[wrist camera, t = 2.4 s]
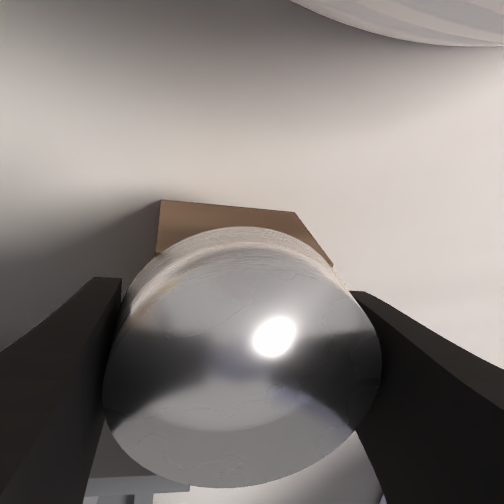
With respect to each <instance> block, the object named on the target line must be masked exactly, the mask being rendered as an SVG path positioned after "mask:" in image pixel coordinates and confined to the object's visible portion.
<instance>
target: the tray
mask: <svg viewBox="0 0 504 504" xmlns="http://www.w3.org/2000/svg"><path fill="white" fill-rule="evenodd" d="M189 490H190V485H187V484H182V483H179V482H176V481H172V480H169V479H167V478H164V477H162V476H159V475H157V474H155V473H153V472H151V471H150V470H148V469H146V468H144V467H143V466H141V465H140V464H139V463H137V462H136V461H135V460H133V459H132V458H131V457H130V456H129V455H128V454H127V453H126V452H125V451H124V450H123V449H122V448H121V447H120V445H119V444H118V442H117V441H116V439H115V438H114V437H113V435H112V433H111V431H110V428H109V426H108V424H107V421H106V418H105V421H104V425H103V428H102V432H101V436H100V439H99V443H98V446H97V450H96V454H95V457H94V461H93V464H92V468H91V471H90V475H89V479H88V483H87V487H86V492H85V496H84V500H83V504H152V503H153V493H169V492H188V491H189Z"/></svg>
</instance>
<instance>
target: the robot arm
mask: <svg viewBox="0 0 504 504" xmlns="http://www.w3.org/2000/svg"><path fill="white" fill-rule="evenodd" d="M121 285H122V278H103V277H94V278H93V279H91V280H90V281H89V282H88V283H87V284H85V285H84V286H83V287H82V288H81V289H80V290H79V291H78V292H77V293H75V294H74V295H73V296H72V297H71V298H70V299H69V300H68V301H66V302H65V303H64V304H63V305H62V306H61V307H60V308H58V309H57V310H56V311H55V312H54V313H52V314H51V315H50V316H49V317H48V318H46V319H45V320H44V321H43V322H41V323H40V324H39V325H38V326H36V327H35V328H34V329H32V330H31V331H30V332H28V333H27V334H26V335H24V336H23V337H22V338H20V339H19V340H17V341H16V342H15V343H13V344H12V345H11V346H9V347H8V348H6V349H5V350H3V351H2V352H0V504H83V500H84V496H85V492H86V487H87V483H88V479H89V475H90V471H91V468H92V464H93V461H94V457H95V454H96V450H97V446H98V443H99V439H100V436H101V432H102V428H103V425H104V421H105V414H104V410H103V401H102V390H103V379H104V375H105V371H106V366H107V362H108V357H109V353H110V349H111V344H112V340H113V335H114V331H115V327H116V322H117V318H118V314H119V310H120V307H121ZM349 292H350V293H351V295H352V296H353V298H354V299H355V300H356V302H357V303H358V304H359V306H360V307H361V308H362V310H363V311H364V313H365V314H366V315H367V317H368V319H369V320H370V322H371V324H372V325H373V327H374V329H375V332H376V334H377V337H378V339H379V343H380V348H381V353H382V372H381V380H380V384H379V387H378V391H377V394H376V396H375V399H374V401H373V403H372V406H371V408H370V409H369V411H368V413H367V414H366V416H365V418H364V419H363V420H362V422H361V423H360V424H359V426H358V427H357V428H356V429H355V430H356V432H357V434H358V437H359V439H360V441H361V443H362V445H363V447H364V449H365V451H366V454H367V456H368V458H369V460H370V462H371V464H372V466H373V469H374V471H375V473H376V476H377V478H378V481H379V483H380V485H381V488H382V491H383V497H382V499H381V501H380V504H504V370H503V369H501V368H499V367H497V366H495V365H493V364H491V363H489V362H487V361H485V360H483V359H481V358H479V357H477V356H475V355H474V354H472V353H470V352H468V351H466V350H465V349H463V348H461V347H459V346H457V345H456V344H454V343H452V342H450V341H448V340H447V339H445V338H443V337H442V336H440V335H438V334H437V333H435V332H433V331H431V330H430V329H428V328H427V327H425V326H423V325H422V324H420V323H418V322H417V321H415V320H413V319H412V318H410V317H409V316H407V315H405V314H404V313H402V312H400V311H399V310H397V309H395V308H394V307H392V306H390V305H389V304H387V303H385V302H384V301H382V300H380V299H378V298H376V297H375V296H373V295H371V294H368V293H366V292H363V291H349Z"/></svg>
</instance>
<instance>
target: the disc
mask: <svg viewBox="0 0 504 504" xmlns="http://www.w3.org/2000/svg"><path fill="white" fill-rule="evenodd" d="M381 372H382V353H381V348H380V343H379V339H378V337H377V334H376V332H375V329H374V327H373V325H372V324H371V322H370V320H369V319H368V317H367V315H366V314H365V313H364V311H363V310H362V308H361V307H360V306H359V304H358V303H357V302H356V300H355V299H354V298H353V296H352V295H351V293H350V292H349V291H348V289H347V288H346V287H345V285H344V284H343V282H342V281H341V280H340V278H339V277H338V276H337V274H336V273H335V271H334V270H333V269H332V267H331V266H330V265H329V264H328V263H327V261H326V260H325V259H324V258H323V257H322V256H321V255H320V254H319V253H318V252H316V251H315V250H314V249H313V248H312V247H310V246H309V245H307V244H305V243H304V242H302V241H301V240H299V239H297V238H294V237H292V236H290V235H288V234H285V233H282V232H278V231H275V230H271V229H266V228H259V227H244V226H236V227H226V228H218V229H214V230H209V231H205V232H202V233H199V234H196V235H193V236H190V237H187V238H185V239H183V240H181V241H179V242H177V243H175V244H173V245H172V246H170V247H169V248H167V249H166V250H164V251H163V252H161V253H160V254H158V255H157V256H156V257H155V258H154V259H152V260H151V261H150V262H149V263H148V264H147V265H146V266H145V267H144V268H143V269H142V270H141V271H140V273H139V274H138V275H137V276H136V277H135V279H134V280H133V282H132V283H131V285H130V287H129V288H128V290H127V292H126V294H125V296H124V298H123V301H122V303H121V307H120V310H119V314H118V318H117V322H116V327H115V331H114V335H113V340H112V344H111V349H110V353H109V357H108V362H107V366H106V371H105V375H104V379H103V390H102V401H103V410H104V414H105V418H106V421H107V424H108V426H109V428H110V431H111V433H112V435H113V437H114V438H115V439H116V441H117V442H118V444H119V445H120V447H121V448H122V449H123V450H124V451H125V452H126V453H127V454H128V455H129V456H130V457H131V458H132V459H133V460H135V461H136V462H137V463H139V464H140V465H141V466H143V467H144V468H146V469H148V470H150V471H151V472H153V473H155V474H157V475H159V476H162V477H164V478H167V479H169V480H172V481H176V482H179V483H182V484H187V485H192V486H198V487H208V488H236V487H246V486H252V485H257V484H263V483H266V482H270V481H274V480H277V479H280V478H283V477H286V476H288V475H291V474H294V473H296V472H298V471H300V470H302V469H304V468H307V467H308V466H310V465H312V464H314V463H315V462H317V461H319V460H321V459H322V458H323V457H325V456H326V455H328V454H329V453H331V452H332V451H333V450H335V449H336V448H337V447H338V446H339V445H340V444H342V443H343V442H344V441H345V440H346V439H347V438H348V437H349V436H350V435H351V434H352V433H353V432H354V431H355V429H356V428H357V427H358V426H359V424H360V423H361V422H362V420H363V419H364V418H365V416H366V414H367V413H368V411H369V409H370V408H371V406H372V403H373V401H374V399H375V396H376V394H377V391H378V387H379V384H380V380H381Z"/></svg>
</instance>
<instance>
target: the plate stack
mask: <svg viewBox="0 0 504 504" xmlns="http://www.w3.org/2000/svg"><path fill="white" fill-rule="evenodd" d="M291 1H292V2H294V3H296V4H298V5H301V6H303V7H305V8H307V9H309V10H311V11H314V12H316V13H318V14H320V15H323V16H325V17H328V18H330V19H333V20H336V21H338V22H341V23H343V24H346V25H349V26H352V27H355V28H358V29H362V30H365V31H368V32H372V33H376V34H379V35H383V36H387V37H391V38H396V39H401V40H407V41H412V42H418V43H426V44H434V45H446V46H467V47H488V46H504V0H291Z"/></svg>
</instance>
